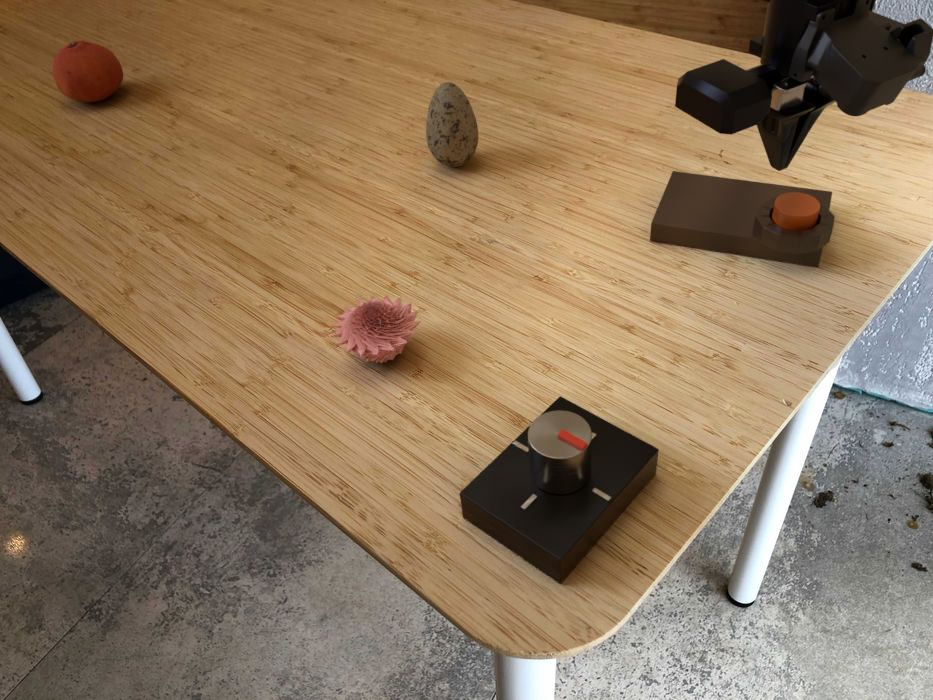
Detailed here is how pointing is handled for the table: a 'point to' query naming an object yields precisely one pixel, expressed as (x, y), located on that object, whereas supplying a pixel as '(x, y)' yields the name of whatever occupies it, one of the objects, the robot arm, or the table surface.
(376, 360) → the flower
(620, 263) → the table surface
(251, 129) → the table surface
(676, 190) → the button block
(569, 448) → the dial
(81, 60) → the fruit
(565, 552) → the panel
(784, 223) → the button
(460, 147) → the decorative egg
